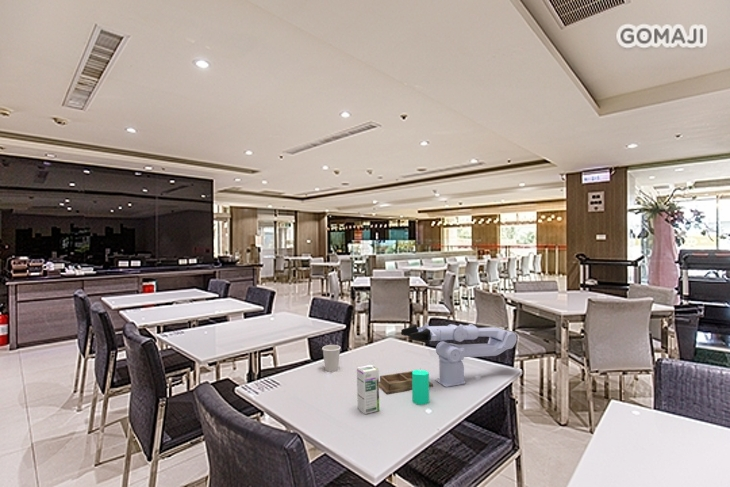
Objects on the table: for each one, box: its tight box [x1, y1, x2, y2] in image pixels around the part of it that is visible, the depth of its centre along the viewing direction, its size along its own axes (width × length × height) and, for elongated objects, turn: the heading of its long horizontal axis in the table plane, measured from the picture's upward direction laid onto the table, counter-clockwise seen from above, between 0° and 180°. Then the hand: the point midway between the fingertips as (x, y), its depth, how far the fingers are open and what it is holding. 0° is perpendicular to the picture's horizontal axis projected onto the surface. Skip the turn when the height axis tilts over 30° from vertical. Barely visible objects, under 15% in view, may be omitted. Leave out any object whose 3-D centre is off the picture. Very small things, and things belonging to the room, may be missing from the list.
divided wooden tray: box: [379, 370, 434, 395], centre depth 148 cm, size 20×10×4 cm, turn 111°
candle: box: [411, 367, 430, 406], centre depth 133 cm, size 6×6×12 cm
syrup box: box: [356, 364, 380, 415], centre depth 127 cm, size 6×6×14 cm
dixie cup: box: [321, 344, 341, 373], centre depth 167 cm, size 8×8×10 cm
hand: (406, 334), depth 143 cm, fingers open, 7 cm apart
